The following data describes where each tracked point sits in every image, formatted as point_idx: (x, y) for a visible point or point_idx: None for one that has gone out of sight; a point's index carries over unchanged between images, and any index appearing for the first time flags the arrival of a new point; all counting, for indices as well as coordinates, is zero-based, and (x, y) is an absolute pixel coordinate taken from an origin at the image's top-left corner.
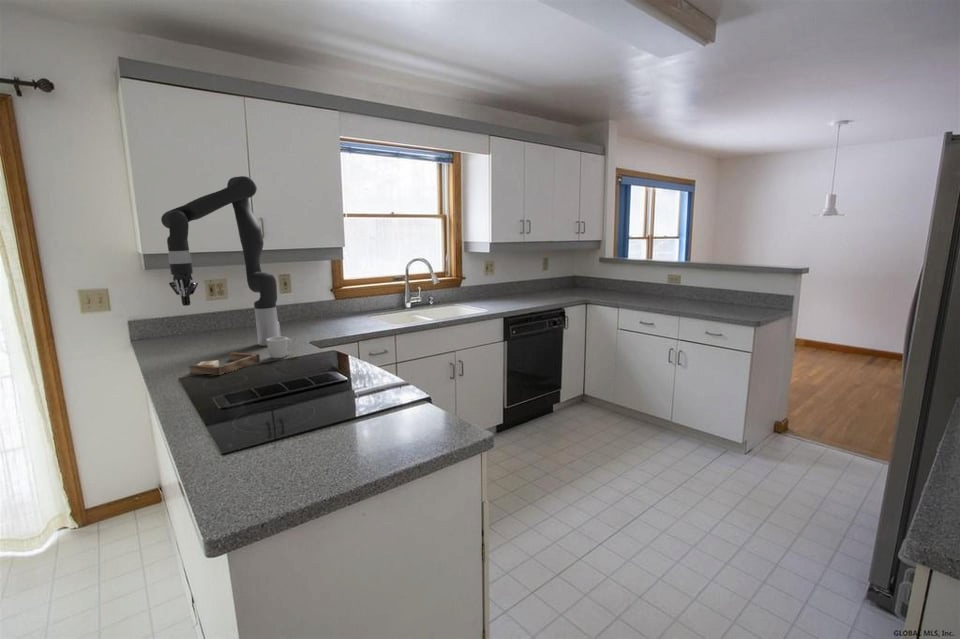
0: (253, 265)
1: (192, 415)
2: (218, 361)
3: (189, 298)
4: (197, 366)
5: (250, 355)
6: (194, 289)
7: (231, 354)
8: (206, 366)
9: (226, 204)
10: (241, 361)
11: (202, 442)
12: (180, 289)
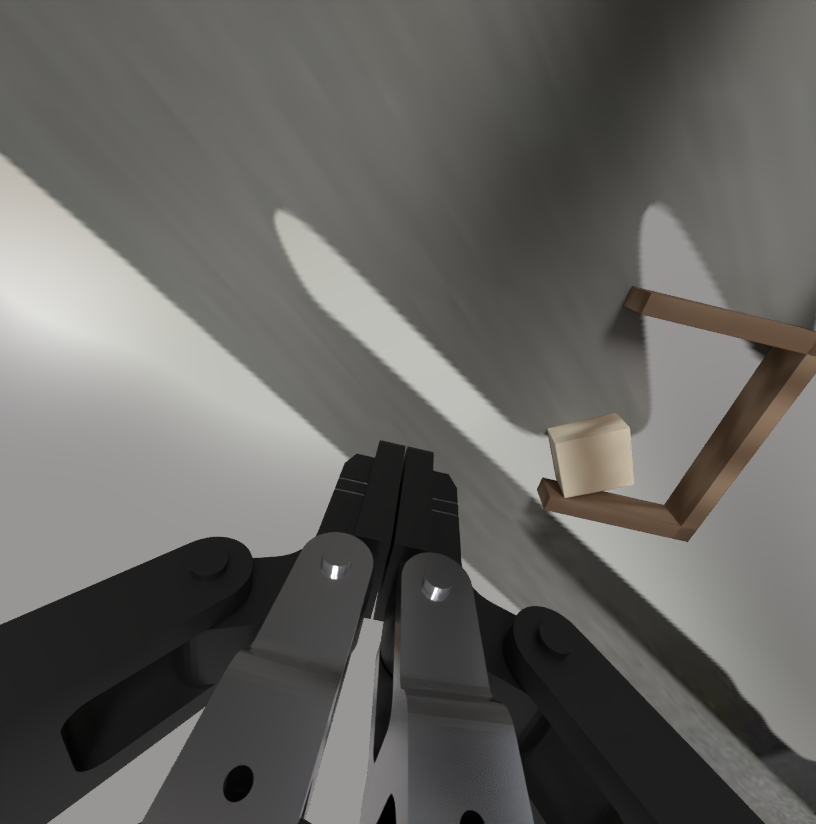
0: None
1: (710, 727)
2: (627, 425)
3: (458, 543)
4: (584, 518)
5: (784, 348)
6: (708, 802)
7: (656, 316)
8: (624, 522)
9: None
10: (755, 446)
11: (771, 792)
12: (305, 814)
